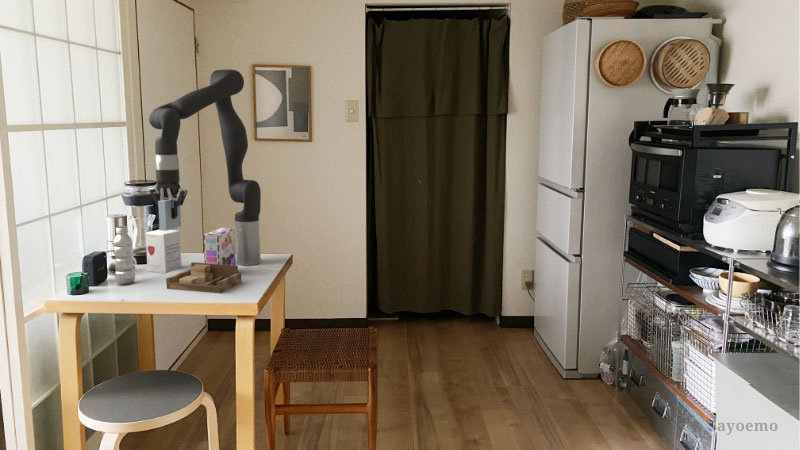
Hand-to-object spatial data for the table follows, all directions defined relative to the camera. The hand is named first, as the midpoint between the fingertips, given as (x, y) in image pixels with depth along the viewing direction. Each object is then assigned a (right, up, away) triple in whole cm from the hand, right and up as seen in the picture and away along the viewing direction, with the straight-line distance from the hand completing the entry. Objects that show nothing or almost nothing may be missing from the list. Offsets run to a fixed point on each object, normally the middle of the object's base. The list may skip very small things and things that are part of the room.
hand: (170, 218), depth 222 cm
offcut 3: (+11, -22, 0) cm, 25 cm away
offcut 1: (+8, -23, -5) cm, 25 cm away
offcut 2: (+11, -20, 0) cm, 22 cm away
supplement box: (-10, -20, +23) cm, 32 cm away
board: (0, -4, +1) cm, 4 cm away
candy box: (+13, -21, +17) cm, 30 cm away
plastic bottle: (-17, -23, +3) cm, 29 cm away
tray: (+13, -24, -3) cm, 27 cm away
